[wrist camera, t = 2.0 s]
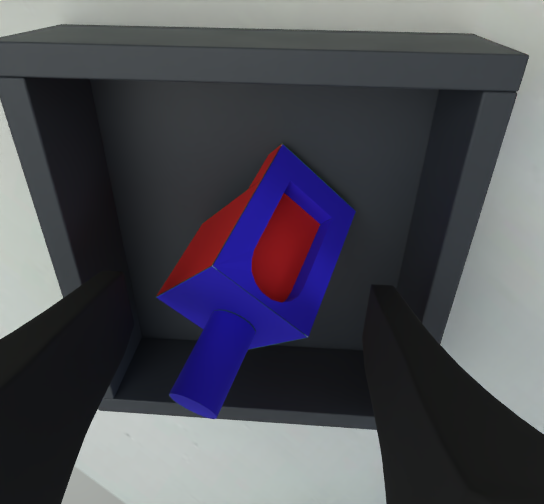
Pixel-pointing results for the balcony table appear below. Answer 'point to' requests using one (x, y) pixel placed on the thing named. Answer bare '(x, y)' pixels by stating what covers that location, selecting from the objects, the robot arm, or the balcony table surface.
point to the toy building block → (255, 274)
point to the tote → (243, 169)
